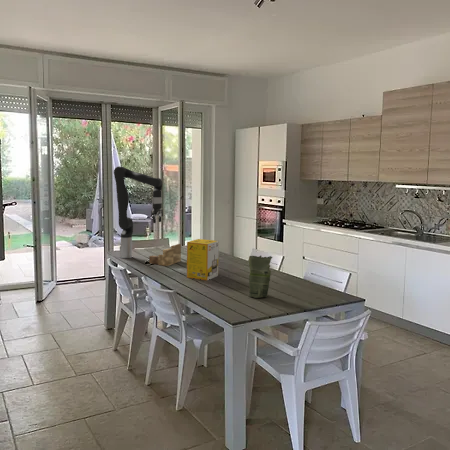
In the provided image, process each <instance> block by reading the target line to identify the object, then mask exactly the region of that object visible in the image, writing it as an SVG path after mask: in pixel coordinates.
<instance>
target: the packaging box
mask: <svg viewBox="0 0 450 450" xmlns="http://www.w3.org/2000/svg"><path fill="white" fill-rule="evenodd" d="M219 243H220V241H219V240H213V239H201V238H196V239H193V240H190V241H187V242H186V278H187V279H193V278H195V279H194V280H200V279H201V281H209V279H210V280H212V279H214V278H216V277H218V276H219V251H220V250H219V249H220V246H219V245H220V244H219Z"/></svg>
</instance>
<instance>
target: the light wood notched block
mask: <svg viewBox="0 0 450 450" xmlns="http://www.w3.org/2000/svg"><path fill="white" fill-rule="evenodd" d="M157 256H158V257H159V264H158V265H159V266H164V267H169V266H171V265H174V264H177V263H180V262H181V261H182V243H177V244H174V245H171V246H170V248H165V249H162V254H158V255H157Z"/></svg>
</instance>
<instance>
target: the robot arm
mask: <svg viewBox="0 0 450 450" xmlns="http://www.w3.org/2000/svg"><path fill="white" fill-rule="evenodd" d="M113 174H114V175H113V177H114V180H115V187H116V188H115V189H116V200H117V209H118V227H119V228H120V229H121V230H122V231H121V233H120V245H119V258H121V259H131V258H133V232H134V222H133V219H132V218H131V217H128V207H129V202H130V198H129V192H128V189H127V186H126V184H125V183H126V182H125V179H131V180H135V181H136V182H139V183H143V184H146V185H149V186H151V187H153V191H152V201H151V202H152V209H153V210H151V211H150V214H151V215H150V218H151V219H152V223H153V224H156V223H157V217H158V222H159V223H162V218H163V217H164V209H162V208H163V207H162V206H163V204H162V201H163V200H162V191H163V180H162V179H161V178H160V177H153V176H151V175H147V174H144V173H139V172H136V171H133V170H131V169H128V168H126V167H125V166H121V165H120V166H116V167H114V170H113Z"/></svg>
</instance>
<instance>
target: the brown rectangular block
mask: <svg viewBox="0 0 450 450" xmlns="http://www.w3.org/2000/svg"><path fill="white" fill-rule="evenodd" d="M148 257H149V258H148V259H149V264H153V265H159V257H158V255H150V256H148Z"/></svg>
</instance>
